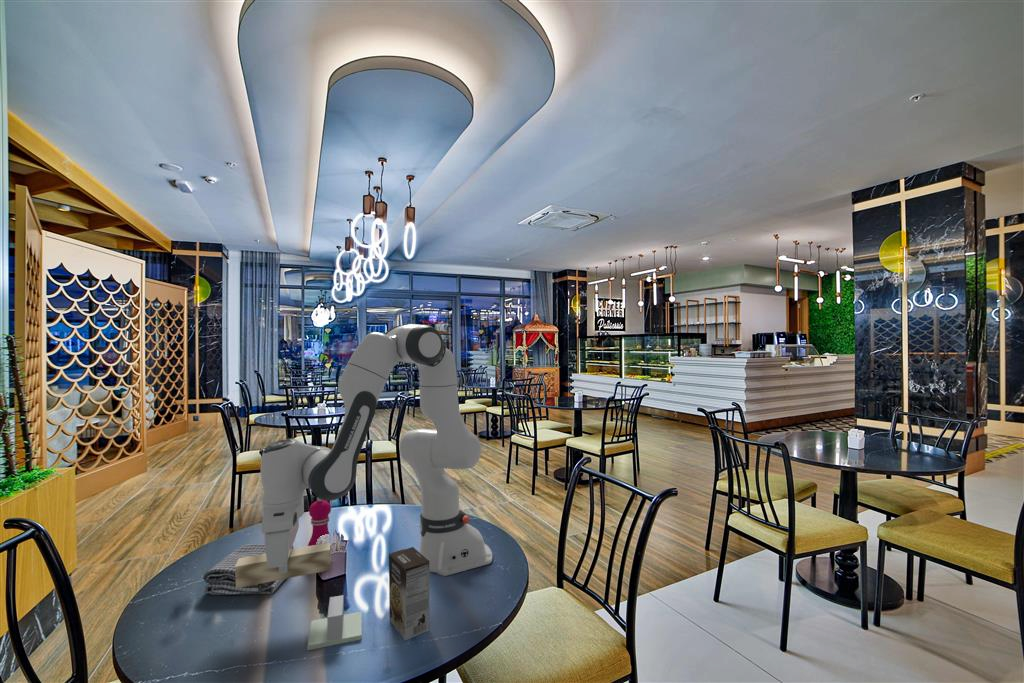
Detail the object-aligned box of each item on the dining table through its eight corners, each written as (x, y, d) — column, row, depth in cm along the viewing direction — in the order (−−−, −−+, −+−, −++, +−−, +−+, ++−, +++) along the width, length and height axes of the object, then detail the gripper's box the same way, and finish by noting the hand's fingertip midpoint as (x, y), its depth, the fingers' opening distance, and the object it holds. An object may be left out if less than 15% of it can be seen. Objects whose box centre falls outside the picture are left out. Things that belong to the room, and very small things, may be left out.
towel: (238, 567, 132) (237, 540, 132) (300, 568, 132) (299, 541, 132) (201, 597, 117) (200, 567, 117) (271, 598, 117) (270, 568, 117)
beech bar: (331, 561, 114) (330, 542, 114) (330, 569, 110) (330, 549, 110) (239, 579, 107) (238, 558, 106) (235, 588, 103) (234, 566, 103)
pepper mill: (324, 570, 130) (323, 501, 130) (301, 567, 131) (301, 499, 131) (338, 558, 137) (338, 492, 137) (317, 555, 139) (316, 490, 138)
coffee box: (388, 621, 107) (387, 553, 107) (413, 611, 111) (413, 545, 111) (404, 642, 100) (403, 569, 99) (430, 630, 103) (430, 560, 103)
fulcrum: (361, 615, 109) (361, 590, 109) (361, 639, 100) (361, 612, 100) (311, 624, 106) (311, 599, 105) (307, 650, 97) (307, 622, 97)
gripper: (276, 495, 117) (279, 547, 117) (259, 529, 97) (261, 592, 98) (303, 491, 118) (305, 543, 119) (291, 525, 99) (294, 586, 100)
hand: (285, 566), depth 108 cm, fingers closed on beech bar, 4 cm apart
